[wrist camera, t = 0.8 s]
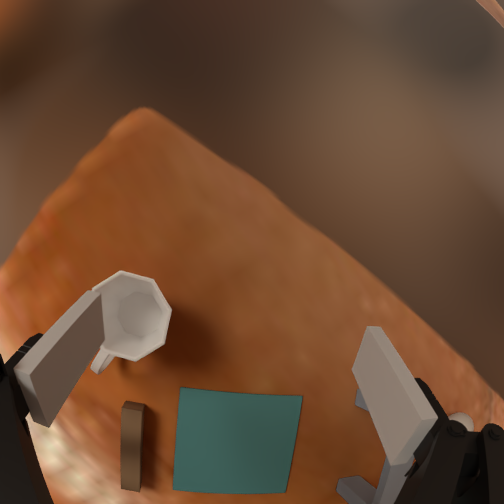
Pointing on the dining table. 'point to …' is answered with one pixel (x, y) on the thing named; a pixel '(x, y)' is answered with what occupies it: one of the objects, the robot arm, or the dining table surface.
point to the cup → (131, 318)
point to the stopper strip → (132, 445)
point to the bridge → (390, 484)
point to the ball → (463, 420)
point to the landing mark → (234, 441)
